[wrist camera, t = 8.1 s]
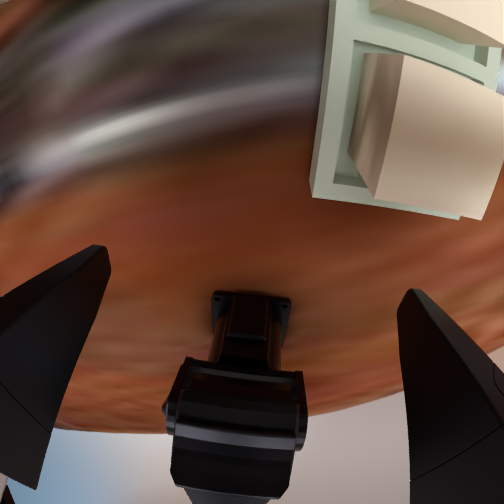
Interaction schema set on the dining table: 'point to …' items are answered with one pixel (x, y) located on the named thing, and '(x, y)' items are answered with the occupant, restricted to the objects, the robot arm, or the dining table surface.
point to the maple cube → (426, 135)
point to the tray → (394, 42)
